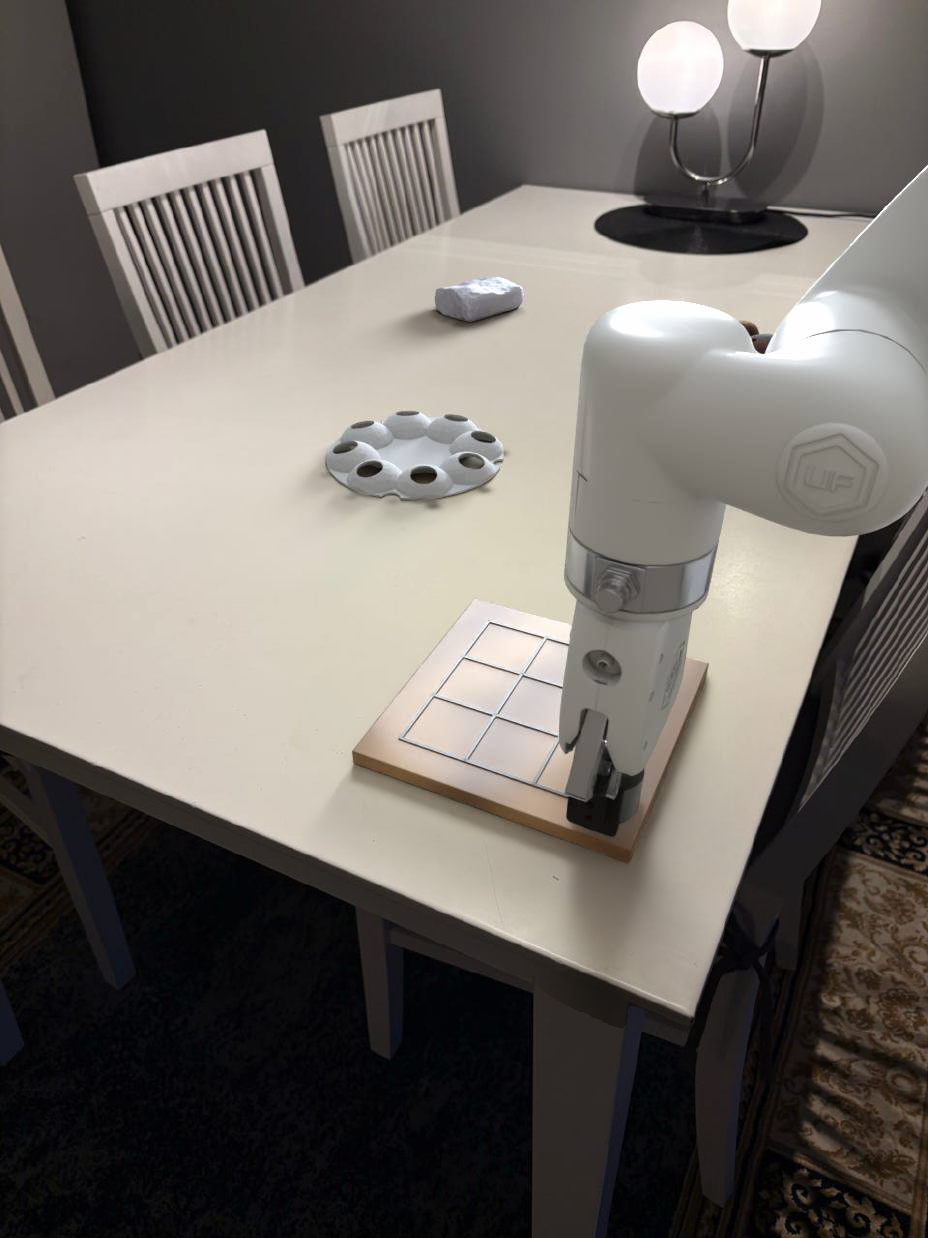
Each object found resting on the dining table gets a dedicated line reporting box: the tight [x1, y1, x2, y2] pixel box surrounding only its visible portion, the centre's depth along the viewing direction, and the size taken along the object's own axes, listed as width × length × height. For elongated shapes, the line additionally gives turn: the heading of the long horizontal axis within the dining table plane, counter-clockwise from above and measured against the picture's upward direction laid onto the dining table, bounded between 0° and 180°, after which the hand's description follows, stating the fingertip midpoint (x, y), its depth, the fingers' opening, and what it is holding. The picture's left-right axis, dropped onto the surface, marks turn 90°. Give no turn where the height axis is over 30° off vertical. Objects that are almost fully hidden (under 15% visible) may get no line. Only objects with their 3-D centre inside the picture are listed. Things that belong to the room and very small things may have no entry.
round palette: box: [325, 410, 505, 501], centre depth 100 cm, size 20×20×2 cm
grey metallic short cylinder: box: [597, 759, 645, 824], centre depth 57 cm, size 4×4×3 cm
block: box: [434, 276, 525, 323], centre depth 139 cm, size 12×5×10 cm
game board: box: [351, 598, 710, 864], centre depth 67 cm, size 20×20×1 cm
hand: (605, 795), depth 58 cm, fingers closed on grey metallic short cylinder, 4 cm apart
